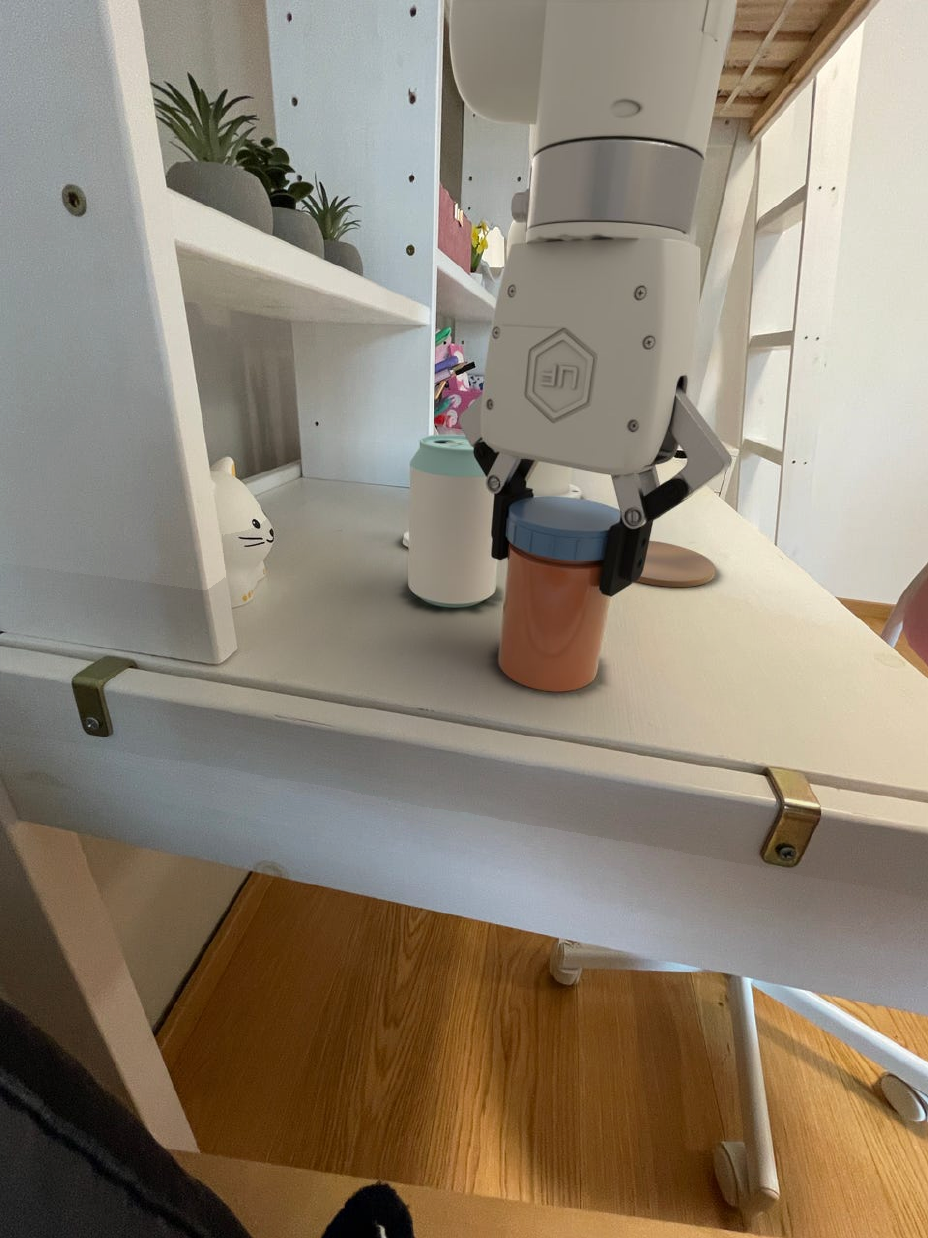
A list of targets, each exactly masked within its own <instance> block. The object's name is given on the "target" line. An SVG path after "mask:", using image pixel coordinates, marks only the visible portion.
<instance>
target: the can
mask: <svg viewBox="0 0 928 1238" xmlns="http://www.w3.org/2000/svg"><path fill="white" fill-rule="evenodd" d="M418 442H419V443H418V444H419V448H418V449H417V451H415V453H414V455H413V456H412V458H411V459H410V462H409V497H408V498H409V501H408V503H409V505H408V509H409V510H408V512H409V513H408V531H409V548H408V574H407V575H408V576H407V577H408V579H407V585H408V586H407V587H408V588H409V590H410V591H411V592H412V593H413V594H414V595H416V596H417V597H418V598H420V599H421V600H423V601H424V602H427V603H428V604H431V605H434V606H438V607H444V608H466V607H471V606H475V605H477V604H479V603H480V604H481V602H483V601H484V600H487V599H488V598H490V597H491V596H492V595H494V594H495V592H496V589H497V579H498V569H499V560H497V559H494V558H492V556H491V550H492V536H491V528H492V516H493V503H494V494H493V493H491V492H489V490H488V489H487V487H486V479H487V477H486V475H485V474H484V472H483V470H482V469H481V467H480V466H479V464H478V462H477V461H476V459H475V457H474V453H473V450H474V448H473V447H471V445H470V444H469V442H468V440H467V438H466V436H465V434H431V435H426V436H422V437H421V438H419V440H418Z"/></svg>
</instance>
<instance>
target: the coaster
mask: <svg viewBox="0 0 928 1238" xmlns="http://www.w3.org/2000/svg"><path fill="white" fill-rule="evenodd" d="M716 568H717V567H716V566H715V563H713V561H711V559H709V558H708V557H706V556H705V555H703V554H701V553H699V552H696V551H694V550H692V549H689V548H687V547H683V546H680V545H677V544H673V543H668V542H662V541H656V540H649V545H648V549H647V554H646V559H645V564H644V569H643V572H642V574H641V576H640V578H639V579H638V580H636V581H635V582H636V583H640V584H645V585H651V586H657V587H664V588H665V587H667V588H691V587H697V586H702V585H706V584H707V583H710V582H711V581H712V580H713V579H714V577H715V574H716V572H717V571H716V570H717V569H716Z"/></svg>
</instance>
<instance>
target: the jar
mask: <svg viewBox="0 0 928 1238" xmlns="http://www.w3.org/2000/svg"><path fill="white" fill-rule="evenodd" d="M506 559H507V560H506V568H505V569H506V571H505V580H504V581H505V582H504V592H503V603H502V612H501V613H502V614H501V624H500V636H499V645H498V657H497V661H498V665H499V668H500V670H501V671H502V672H503V674H505V675H506V676H507V677H508V678H509V679H511V680H512V681H514V682H516V683H518V684H520V685H521V686H525V687H527V688H531V689H534V690H539V691H544V692H545V691H546V692H557V693H558V692H559V693H560V692H571V691H575V690H579V689H582V688H584V687H586V686H588V685H590V684H591V683H592V682H593V681H594V680H595V678H596V676H597V674H598V668H599V663H600V658H601V653H602V646H603V642H604V641H603V640H604V635H605V630H606V626H607V625H606V624H607V619H608V615H609V614H608V613H609V609H610V603H611V598H612V597H610V596H607V595H604V594H602V593H601V591H600V590H599V586H600V580H601V574H602V568H603V562H604V559H603V560H596V561H567V560H558V559H552V558H547V557H542V556H538V555H535V554H531V553H529V552H526V551H523V550H521V549H519V548H517V547H516V546H514V545H513V544H511V543H510V542H509V548H508V558H506Z"/></svg>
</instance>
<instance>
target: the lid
mask: <svg viewBox="0 0 928 1238" xmlns="http://www.w3.org/2000/svg"><path fill="white" fill-rule="evenodd" d="M620 516H621V513H620V509H618V508H615V507H613V506H611V505H608V504H605V503H603V502H602V503H601V502H597V501H593V500H591V499H590V500H589V499H583V498H580V499H578V498H569V497H550V496H547V497H532V498H526V499H522V500H519V501H516V502H514V503H512V504H511V505H510V507H509V516H508V518H507V526H506V537H507V538H508V540H509V542H510V543H511V544H513V545H514V546H516V547H517V548H519V549H521V550H523V551H526V552H529V553H531V554H535V555H538V556H542V557H547V558H552V559H558V560H567V561H596V560H603V559H604V556H605V551H606V545H607V539H608V533H609V529H610V527H611V526H612V525H614V524H616V523H618V522H620Z"/></svg>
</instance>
